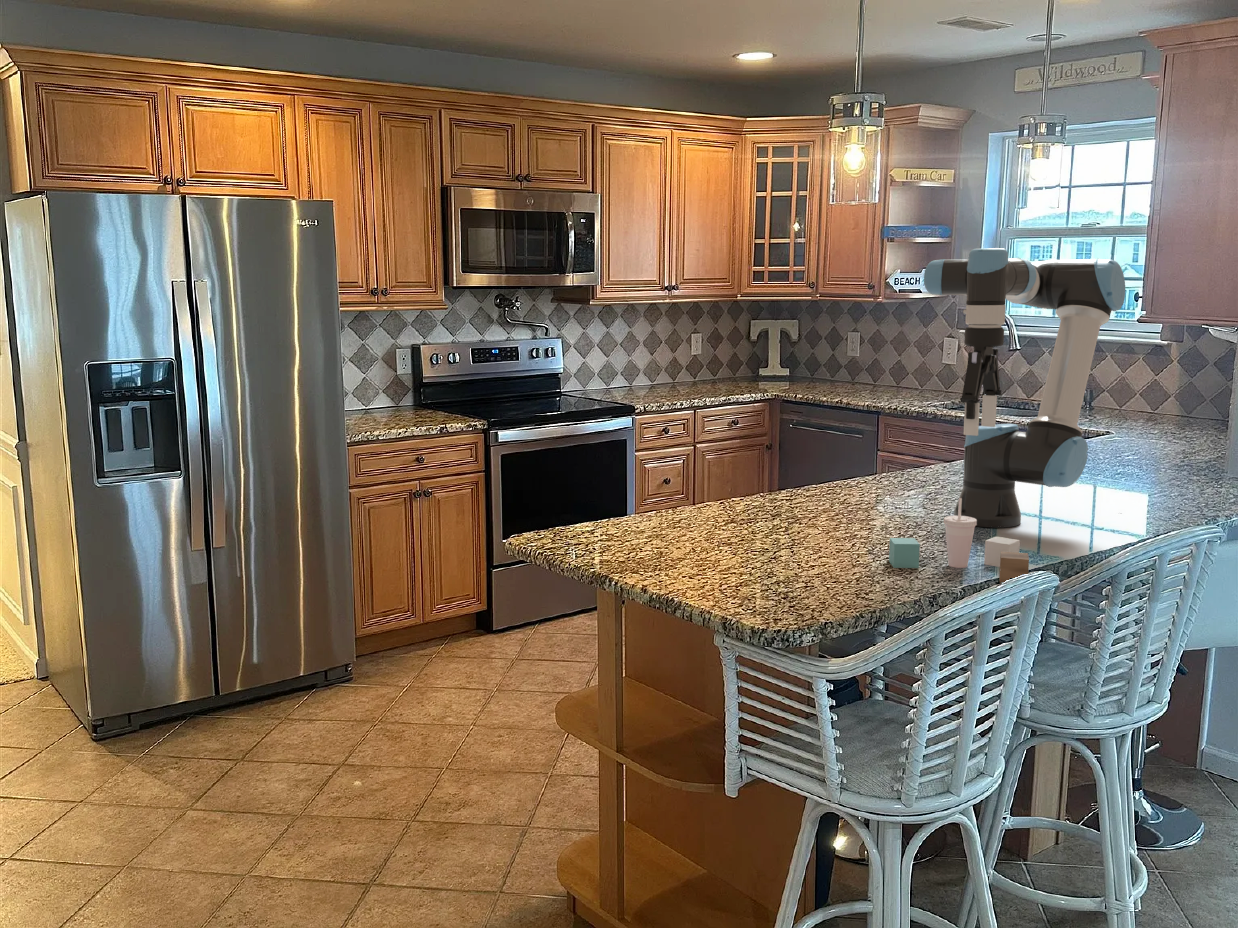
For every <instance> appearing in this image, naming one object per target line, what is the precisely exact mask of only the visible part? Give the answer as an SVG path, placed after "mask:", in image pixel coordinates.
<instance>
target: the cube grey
mask: <svg viewBox="0 0 1238 928" xmlns="http://www.w3.org/2000/svg"><path fill="white" fill-rule="evenodd" d="M1020 543H1021V539H1014V538H1010V537H1009V538H1008V537H1002V536H993V537H991V538H989V539H986V540H985V541H984V556H983V557H984V560H983V561H984V563H983V565H986V566H992V567H997V568H1000V554H1001V551H1003V552H1017V553H1020V546H1021V544H1020Z"/></svg>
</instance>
